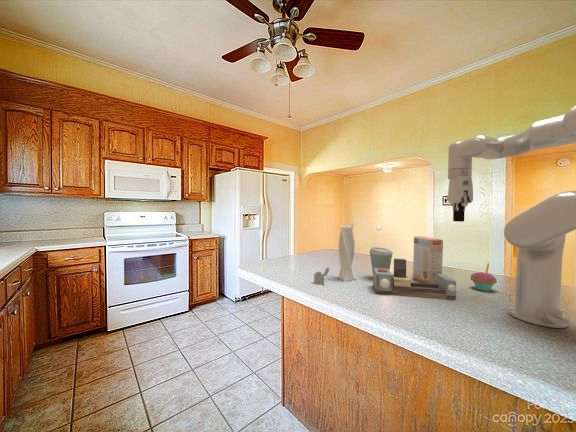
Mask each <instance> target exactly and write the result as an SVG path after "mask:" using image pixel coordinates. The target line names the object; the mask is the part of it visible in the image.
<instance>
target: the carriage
mask: <svg viewBox="0 0 576 432" xmlns="http://www.w3.org/2000/svg"><path fill="white" fill-rule="evenodd" d="M392 274H393V286H397V287H411V281H412V280H411V278H409V277H408V275H407V259H405V258H393V273H392Z"/></svg>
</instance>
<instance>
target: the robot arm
mask: <svg viewBox="0 0 576 432" xmlns="http://www.w3.org/2000/svg"><path fill="white" fill-rule="evenodd" d="M571 144H576V105H574V106H572V107H571V108H570V109H568V111H567V112H566V113H565V114H561V115H557V116H553V117H548V118H544V119H541V120H536V121H535V122H533V123H531V124H530V126H529V127H528V128H527V129H526V130H524V131H522V132H518V133H516V134H512V135H508V136H503V137H497V138H496V137H493V136H487V135H484V134H482V135H481V134H479V135H475V136H473V137H470V138H467V139H465V140H463V141H462V140H461V141H460V140H459V141H456V142H453V143H450V144H449V146H448V151H447V152H448V155H447V156H448V157H447V158H448V159H447V160H448V161H447V165H448V166H447V169H448V170H447V180H449V181H448V189H447V190H448V191H447V192H448V193H447V201H448V203H449V204H450V206H451V207H452V214H453V215H452V221H453V222H465V211H466V207H467V206H468V205H469V204H471V203H473V201H474V187H473V186H474V185H473V178H472V177H473V176H472V175H473V158H476V159H477V158H478V159H485V160H497V159H503V158H509V157H510V158H511V157H515V156H520V155H523V154H528V153H532V152H534V151H538V150H543V149H549V148H554V147H560V146H566V145H571ZM575 230H576V190H568V191H563V192H559V193H556V194H554V195H551V196H549V197H547V198H546V199H544V200H542V201H541V202H539V203H537V204H536V205H534V206H532V207H530V208H529V209H527V210H525V211H523V212H521V213H520V214H519V215H517V216H515V217H513V218H512V219H510V220H509V221H508V222H507V223H506V225H505V226H504V228H503V234H504V235H503V236H504V238H505V239H506V241H507V243H509V244H510V245H512V246H513V247H516V248H518V249H517V254H516V270H515V305H514V306H511V307H509V308H508V314H510V316H512V317H514V318H516V319H517V320H521V321H522V322H526V323H529V324H532V325H537V326H542V327H546V328H552V329H553V328H554V329H563V328H564V329H565V328H567V327H568V326H569V323H570V320H569V319H567V318H565V317H563V313H564V312H563V310H561V306H562V305H561V304H562V303H561V302H562V301H561V299H562V297H561V296H562V291H561V290H562V270H563V256H564V248H565V243H566V236H567V234H569V233H572V232H574V231H575Z"/></svg>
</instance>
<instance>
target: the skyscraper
mask: <svg viewBox="0 0 576 432" xmlns="http://www.w3.org/2000/svg"><path fill="white" fill-rule="evenodd" d="M339 229H340V230H339V231H340V233H339V238H338V257H339V258H338V260H339V264H340V270H339V273H338V276H337V277H336V279H338V278H339V280H340V279H341V281H343V282H345V281H346V282H352V280H354V281H357V280H358V279H356V278H354V274H353V269H352V265H353V261H354V255H355V238H354V230H353V229H354V223H353V222H350V225H349V224H344V225H343V224H341V225H339Z"/></svg>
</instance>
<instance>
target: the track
mask: <svg viewBox="0 0 576 432" xmlns="http://www.w3.org/2000/svg"><path fill="white" fill-rule="evenodd" d="M372 287H373V289H374V292H375V294H376V295H385V296H386V295H388V296H399V297H412V298H413V297H415V298H426V299H427V298H428V299H440V300H452V299H453V297H454V300H453V301H456V300H457V295H456V296H453V297H452V296H451V295H448V299H447V295H446V290H444V289H438V284H429V283H421V282H411V287H397V286H393V291H383V290H376V288H375V286H374V285H373V284H372ZM376 291H377V293H376ZM378 292H379V294H378ZM387 292H388V293H389V294H388V293H387ZM380 293H381V294H380ZM382 293H383V294H382ZM386 293H387V294H386ZM390 293H392V295H390ZM449 296H450V298H449ZM451 297H452V299H451Z"/></svg>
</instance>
